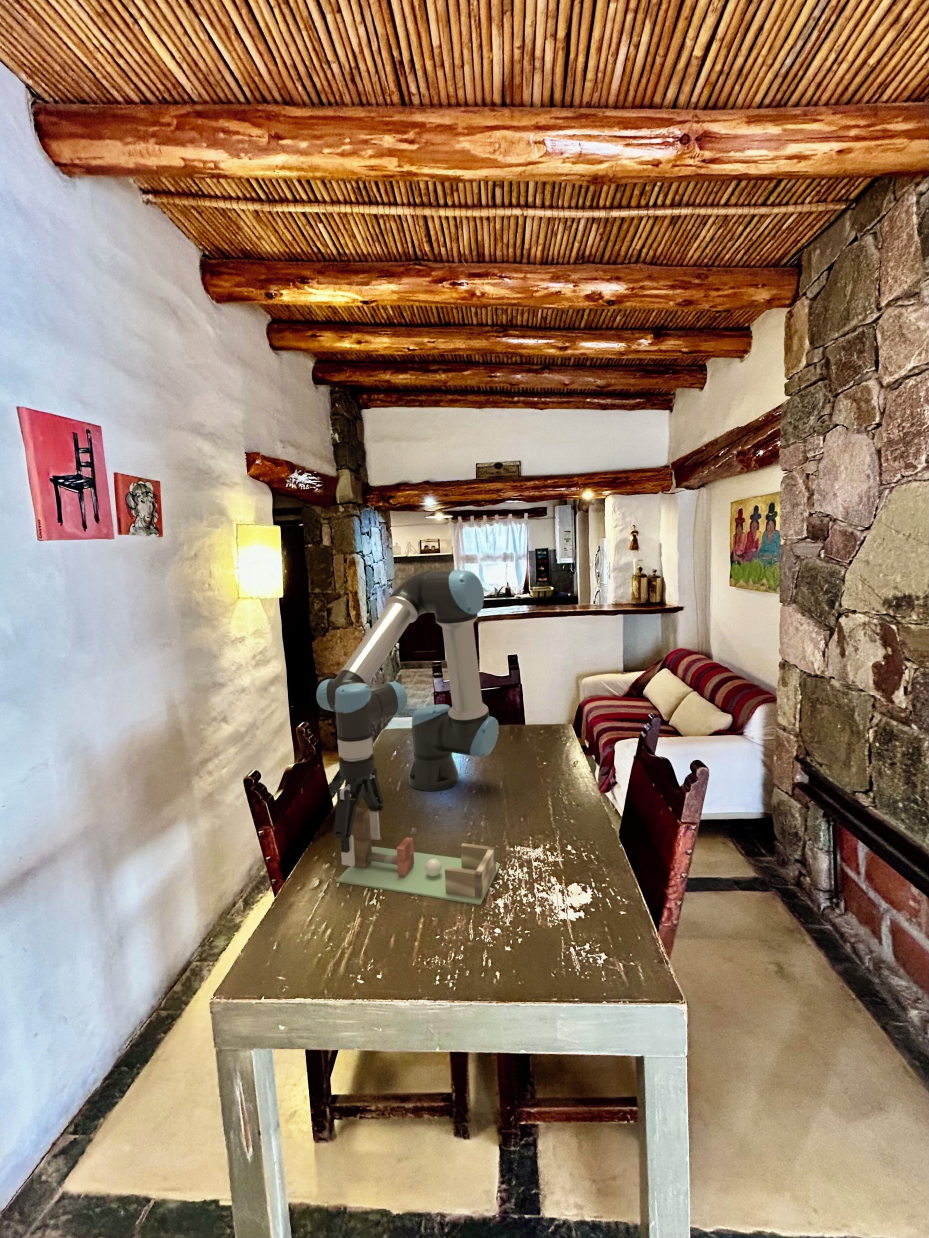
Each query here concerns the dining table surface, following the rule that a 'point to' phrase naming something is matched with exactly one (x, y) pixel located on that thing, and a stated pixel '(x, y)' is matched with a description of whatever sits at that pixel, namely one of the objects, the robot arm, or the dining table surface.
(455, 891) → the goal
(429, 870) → the ball
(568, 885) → the dining table surface
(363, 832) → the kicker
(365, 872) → the mat
